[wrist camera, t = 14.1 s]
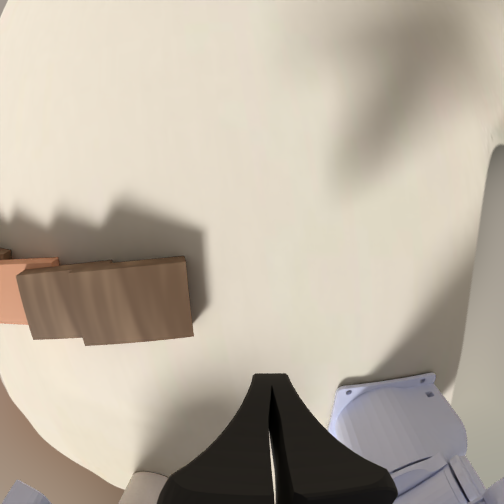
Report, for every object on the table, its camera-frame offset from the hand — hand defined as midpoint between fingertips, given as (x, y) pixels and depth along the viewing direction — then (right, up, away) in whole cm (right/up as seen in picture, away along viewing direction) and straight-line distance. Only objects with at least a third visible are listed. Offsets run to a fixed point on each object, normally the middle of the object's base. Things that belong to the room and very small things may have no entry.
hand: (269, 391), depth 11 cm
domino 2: (-10, +3, +8) cm, 13 cm away
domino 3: (-5, +3, +7) cm, 9 cm away
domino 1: (-15, +3, +8) cm, 17 cm away
